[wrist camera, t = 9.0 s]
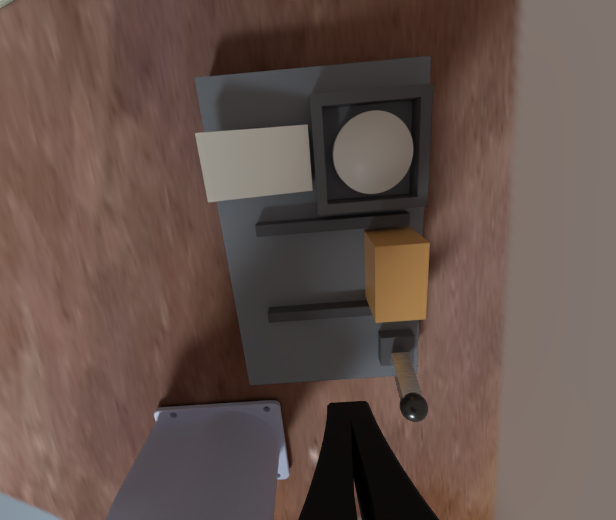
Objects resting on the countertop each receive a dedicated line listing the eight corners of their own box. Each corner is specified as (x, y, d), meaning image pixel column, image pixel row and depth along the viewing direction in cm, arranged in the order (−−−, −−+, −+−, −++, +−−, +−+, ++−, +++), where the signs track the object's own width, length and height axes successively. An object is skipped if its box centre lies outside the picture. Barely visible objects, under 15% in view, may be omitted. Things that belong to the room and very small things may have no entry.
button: (333, 192, 17) (335, 196, 15) (329, 116, 15) (332, 114, 14) (403, 186, 16) (412, 190, 15) (404, 110, 15) (414, 106, 14)
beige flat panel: (209, 199, 15) (208, 202, 15) (197, 133, 14) (195, 132, 14) (309, 188, 16) (312, 190, 16) (304, 125, 15) (307, 124, 15)
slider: (365, 296, 19) (375, 322, 16) (363, 230, 17) (374, 246, 15) (408, 292, 19) (425, 319, 16) (409, 226, 17) (429, 242, 14)
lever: (386, 363, 19) (402, 427, 16) (388, 350, 18) (405, 415, 16) (409, 362, 19) (429, 425, 16) (412, 348, 18) (434, 413, 16)
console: (254, 365, 23) (246, 400, 20) (207, 85, 17) (184, 71, 14) (407, 355, 23) (423, 388, 20) (416, 65, 16) (442, 47, 13)
